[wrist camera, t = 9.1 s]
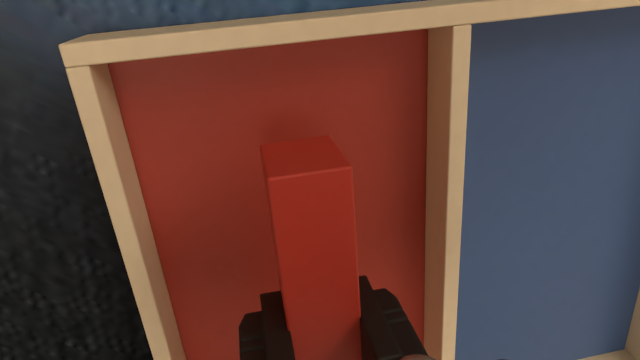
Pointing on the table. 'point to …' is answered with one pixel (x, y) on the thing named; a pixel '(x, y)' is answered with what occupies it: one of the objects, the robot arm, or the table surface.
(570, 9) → the sorting tray
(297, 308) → the red spoon
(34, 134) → the table surface
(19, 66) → the table surface
